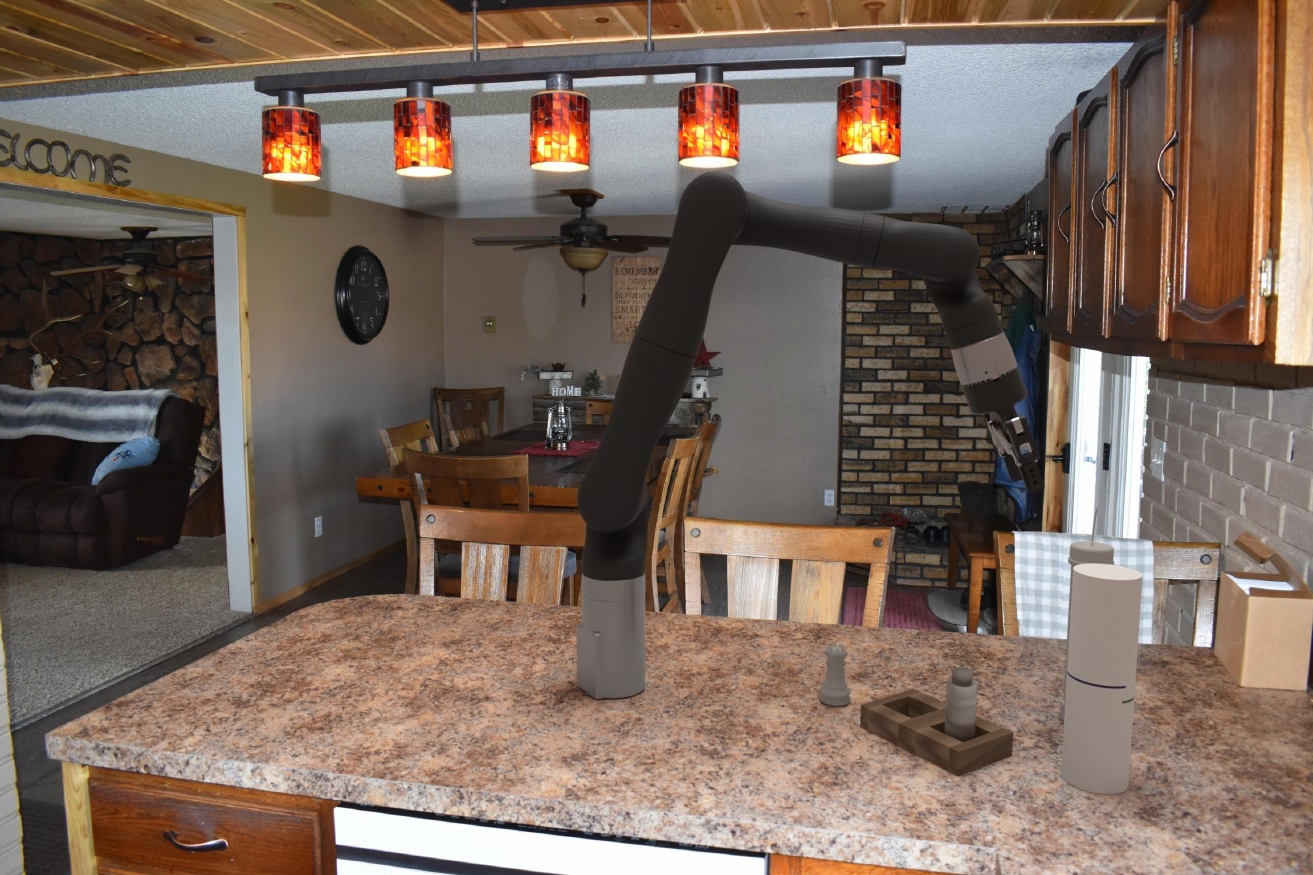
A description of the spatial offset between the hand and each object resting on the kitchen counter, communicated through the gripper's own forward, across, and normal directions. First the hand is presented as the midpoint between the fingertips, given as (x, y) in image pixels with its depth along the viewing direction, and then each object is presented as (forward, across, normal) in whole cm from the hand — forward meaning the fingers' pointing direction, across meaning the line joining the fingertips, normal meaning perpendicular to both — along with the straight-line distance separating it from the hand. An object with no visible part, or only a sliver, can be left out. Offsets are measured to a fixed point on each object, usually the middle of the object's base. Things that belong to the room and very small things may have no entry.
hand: (1027, 485), depth 124 cm
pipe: (+32, +4, -4) cm, 33 cm away
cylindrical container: (+31, +20, -8) cm, 37 cm away
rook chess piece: (+21, +1, -35) cm, 40 cm away
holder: (+25, +12, -23) cm, 36 cm away
